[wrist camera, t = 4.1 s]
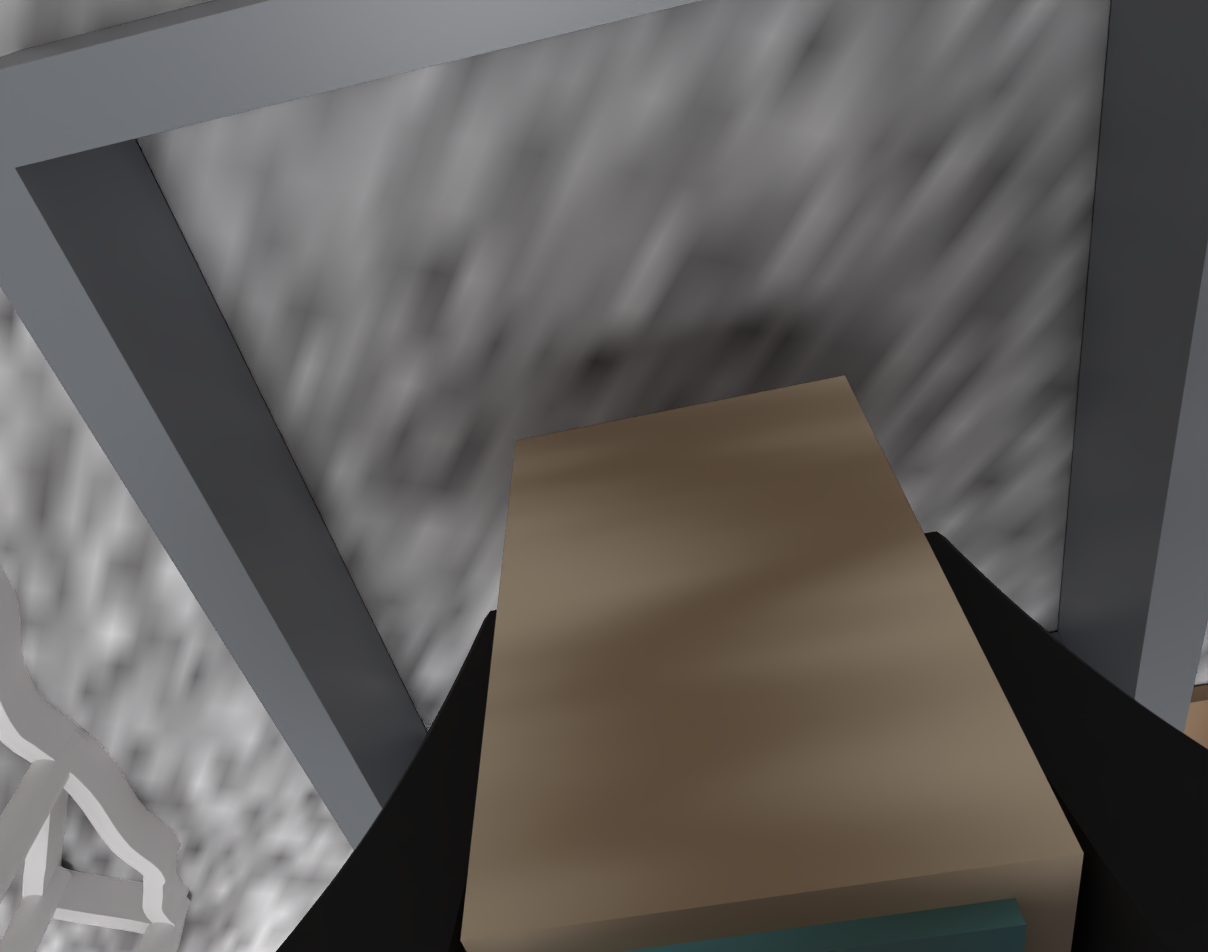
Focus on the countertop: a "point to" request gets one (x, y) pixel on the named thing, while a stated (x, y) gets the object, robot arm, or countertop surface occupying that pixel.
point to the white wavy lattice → (38, 817)
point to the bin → (269, 475)
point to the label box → (747, 706)
